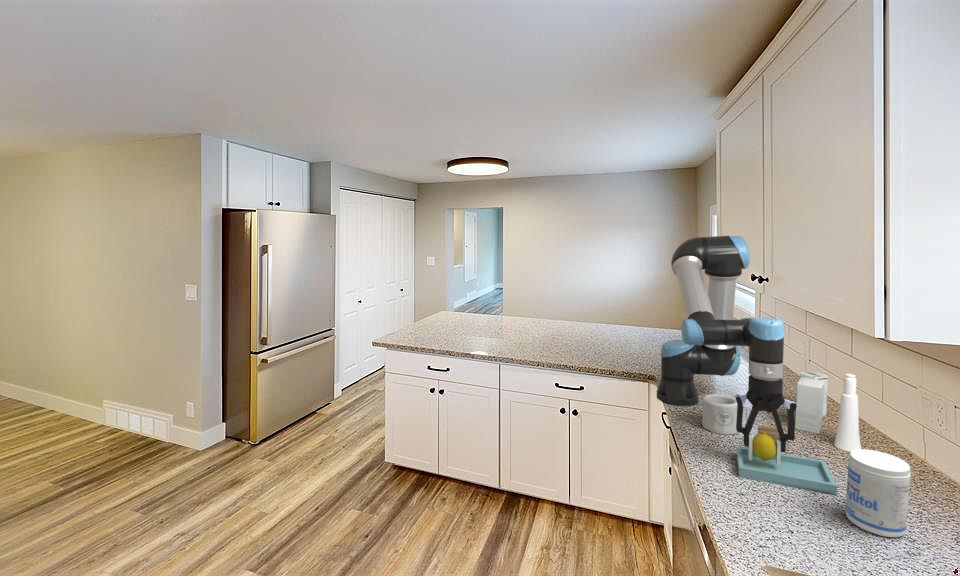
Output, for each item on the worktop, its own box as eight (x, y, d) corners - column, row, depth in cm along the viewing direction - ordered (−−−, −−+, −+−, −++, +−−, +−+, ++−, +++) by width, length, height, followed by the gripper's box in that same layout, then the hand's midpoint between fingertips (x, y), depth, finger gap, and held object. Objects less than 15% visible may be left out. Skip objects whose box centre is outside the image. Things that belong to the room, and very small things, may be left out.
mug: (705, 433, 136) (705, 403, 135) (699, 420, 146) (699, 392, 145) (753, 437, 131) (754, 406, 130) (743, 423, 141) (744, 395, 141)
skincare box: (799, 421, 142) (800, 376, 140) (824, 426, 137) (825, 380, 136) (794, 429, 136) (795, 382, 134) (820, 435, 131) (822, 386, 130)
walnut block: (758, 444, 127) (758, 425, 126) (778, 447, 125) (778, 428, 124) (759, 451, 123) (760, 431, 122) (780, 455, 120) (781, 434, 120)
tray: (736, 454, 121) (736, 446, 121) (824, 469, 111) (824, 460, 111) (738, 476, 110) (739, 467, 110) (836, 495, 100) (837, 485, 100)
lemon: (750, 462, 112) (750, 433, 112) (753, 454, 117) (753, 426, 116) (775, 468, 109) (776, 439, 108) (777, 459, 113) (777, 431, 112)
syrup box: (797, 411, 149) (798, 372, 148) (811, 410, 150) (812, 370, 149) (813, 418, 144) (814, 376, 142) (827, 416, 145) (828, 375, 143)
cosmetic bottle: (865, 449, 121) (868, 375, 119) (855, 454, 118) (858, 379, 117) (840, 441, 127) (842, 370, 125) (830, 446, 124) (832, 373, 122)
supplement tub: (835, 518, 92) (838, 454, 91) (859, 506, 96) (862, 444, 95) (893, 545, 83) (896, 475, 82) (916, 531, 87) (920, 463, 86)
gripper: (725, 376, 112) (724, 459, 114) (812, 384, 103) (809, 474, 105) (724, 369, 119) (723, 447, 121) (806, 376, 110) (804, 461, 112)
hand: (763, 460), depth 113 cm, fingers closed on lemon, 5 cm apart
